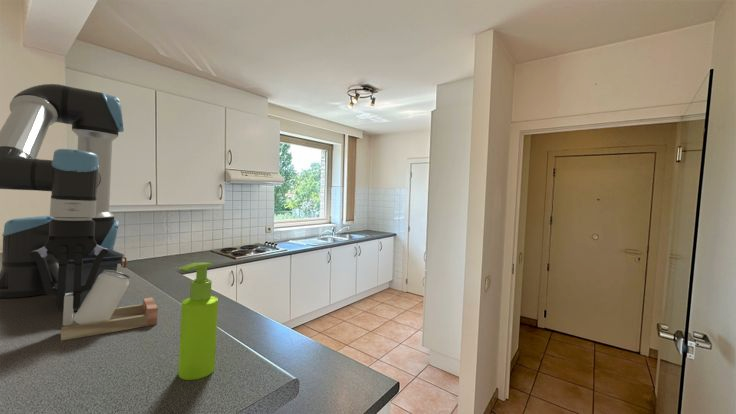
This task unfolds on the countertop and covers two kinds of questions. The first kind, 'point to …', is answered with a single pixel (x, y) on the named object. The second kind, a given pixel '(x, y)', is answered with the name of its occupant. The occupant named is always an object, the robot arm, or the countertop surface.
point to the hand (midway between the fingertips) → (67, 323)
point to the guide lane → (115, 321)
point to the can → (102, 297)
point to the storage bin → (106, 263)
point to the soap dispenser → (198, 326)
